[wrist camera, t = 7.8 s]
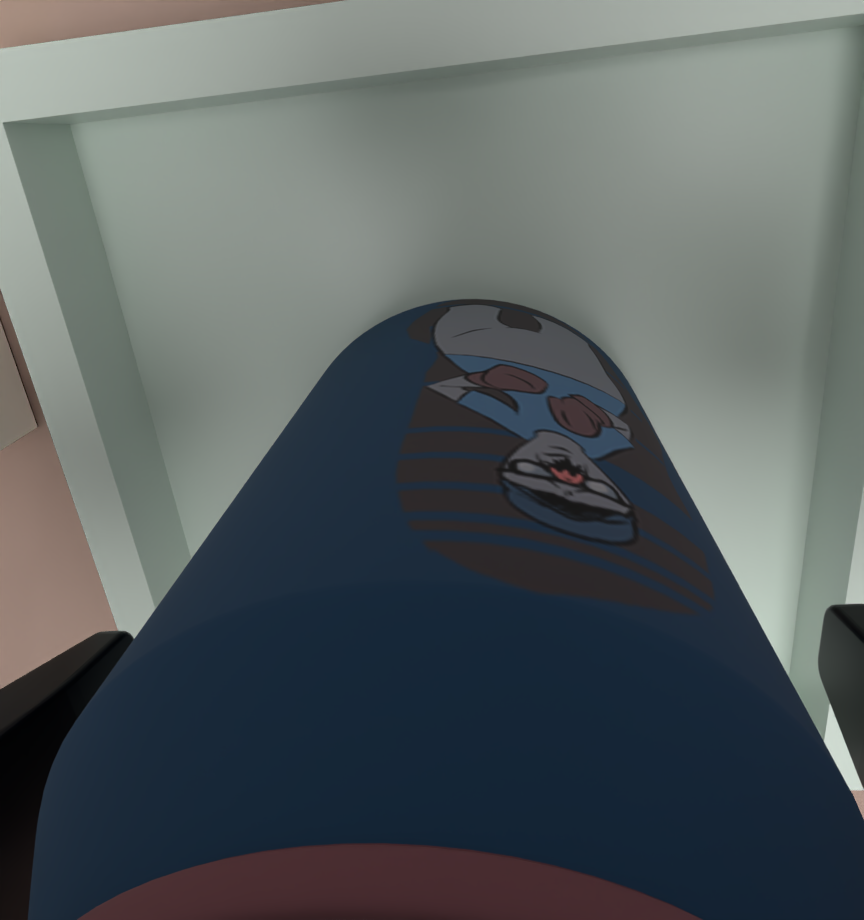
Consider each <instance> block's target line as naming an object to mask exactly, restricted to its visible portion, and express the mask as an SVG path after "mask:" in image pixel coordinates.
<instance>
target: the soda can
mask: <svg viewBox="0 0 864 920" xmlns="http://www.w3.org/2000/svg"><path fill="white" fill-rule="evenodd" d="M28 920H864V819H863V817H862V815H861V812H860V810H859V808H858V806H857V803H856V801H855V799H854V796H853V794H852V793H851V791H850V789H849V787H848V785H847V783H846V782H845V780H844V778H843V776H842V774H841V772H840V770H839V769H838V767H837V765H836V763H835V761H834V759H833V758H832V756H831V754H830V752H829V750H828V748H827V747H826V745H825V743H824V741H823V739H822V737H821V735H820V734H819V732H818V730H817V728H816V726H815V724H814V723H813V721H812V719H811V717H810V715H809V713H808V711H807V710H806V708H805V706H804V704H803V702H802V700H801V699H800V697H799V695H798V693H797V691H796V689H795V688H794V686H793V684H792V682H791V680H790V678H789V676H788V675H787V673H786V671H785V669H784V667H783V665H782V664H781V662H780V660H779V658H778V656H777V654H776V652H775V651H774V649H773V647H772V645H771V643H770V641H769V640H768V638H767V636H766V634H765V632H764V630H763V629H762V627H761V625H760V623H759V621H758V619H757V617H756V616H755V614H754V612H753V610H752V608H751V606H750V605H749V603H748V601H747V599H746V597H745V595H744V593H743V592H742V590H741V588H740V586H739V584H738V582H737V581H736V579H735V577H734V575H733V573H732V571H731V570H730V568H729V566H728V564H727V562H726V560H725V558H724V557H723V555H722V553H721V551H720V549H719V547H718V546H717V544H716V542H715V540H714V538H713V536H712V534H711V533H710V531H709V529H708V527H707V525H706V523H705V522H704V520H703V518H702V516H701V514H700V512H699V511H698V509H697V507H696V505H695V503H694V501H693V499H692V498H691V496H690V494H689V492H688V490H687V488H686V487H685V485H684V483H683V481H682V479H681V477H680V476H679V474H678V472H677V470H676V468H675V466H674V464H673V463H672V461H671V459H670V457H669V455H668V453H667V452H666V450H665V448H664V446H663V444H662V442H661V440H660V439H659V437H658V435H657V433H656V431H655V429H654V428H653V426H652V424H651V422H650V420H649V418H648V417H647V415H646V413H645V411H644V409H643V407H642V405H641V404H640V402H639V400H638V398H637V396H636V394H635V393H634V391H633V389H632V387H631V386H630V384H629V382H628V381H627V379H626V378H625V376H624V375H623V373H622V372H621V370H620V369H619V368H618V367H617V366H616V364H615V363H614V362H613V361H612V359H611V358H610V357H609V356H608V355H607V354H606V353H605V352H604V351H603V350H602V349H601V348H600V347H598V346H597V345H596V344H595V343H594V342H593V341H591V340H590V339H589V338H588V337H586V336H585V335H583V334H582V333H581V332H579V331H578V330H576V329H575V328H573V327H571V326H570V325H568V324H566V323H565V322H563V321H561V320H559V319H557V318H555V317H553V316H551V315H548V314H546V313H543V312H541V311H538V310H535V309H532V308H529V307H526V306H522V305H518V304H514V303H509V302H503V301H496V300H486V299H458V300H448V301H441V302H436V303H430V304H427V305H423V306H419V307H415V308H413V309H410V310H407V311H404V312H401V313H399V314H397V315H395V316H392V317H390V318H388V319H386V320H384V321H382V322H381V323H379V324H377V325H375V326H374V327H372V328H371V329H369V330H367V331H366V332H364V333H363V334H362V335H360V336H359V337H358V338H357V339H355V340H354V341H353V342H352V343H350V344H349V345H348V346H347V347H346V348H345V349H344V350H343V351H342V352H341V353H340V354H339V355H338V356H337V357H336V358H335V360H334V361H333V362H332V363H331V364H330V366H329V367H328V368H327V370H326V371H325V372H324V374H323V375H322V376H321V378H320V379H319V381H318V382H317V383H316V385H315V386H314V388H313V389H312V390H311V392H310V393H309V395H308V396H307V397H306V399H305V400H304V402H303V403H302V404H301V406H300V407H299V409H298V410H297V411H296V413H295V414H294V416H293V417H292V418H291V420H290V421H289V423H288V424H287V425H286V427H285V428H284V430H283V431H282V432H281V434H280V435H279V437H278V438H277V439H276V441H275V442H274V444H273V445H272V446H271V448H270V449H269V451H268V452H267V453H266V455H265V456H264V458H263V459H262V460H261V462H260V463H259V465H258V466H257V468H256V469H255V470H254V472H253V473H252V475H251V476H250V477H249V479H248V480H247V482H246V483H245V484H244V486H243V487H242V489H241V490H240V491H239V493H238V494H237V496H236V497H235V498H234V500H233V501H232V503H231V504H230V505H229V507H228V508H227V510H226V511H225V512H224V514H223V515H222V517H221V518H220V519H219V521H218V522H217V524H216V525H215V526H214V528H213V529H212V531H211V532H210V533H209V535H208V536H207V538H206V539H205V540H204V542H203V543H202V545H201V546H200V547H199V549H198V550H197V552H196V553H195V554H194V556H193V557H192V559H191V560H190V561H189V563H188V564H187V566H186V567H185V568H184V570H183V571H182V573H181V574H180V575H179V577H178V578H177V580H176V581H175V582H174V584H173V585H172V587H171V588H170V589H169V591H168V592H167V594H166V595H165V596H164V598H163V599H162V601H161V602H160V603H159V605H158V606H157V608H156V609H155V610H154V612H153V613H152V615H151V616H150V617H149V619H148V620H147V622H146V623H145V624H144V626H143V627H142V629H141V630H140V631H139V633H138V634H137V636H136V637H135V638H134V640H133V641H132V643H131V644H130V645H129V647H128V648H127V650H126V651H125V652H124V654H123V655H122V657H121V658H120V660H119V661H118V662H117V664H116V665H115V667H114V668H113V669H112V671H111V672H110V674H109V675H108V676H107V678H106V679H105V681H104V682H103V683H102V685H101V686H100V688H99V689H98V690H97V692H96V693H95V695H94V696H93V697H92V699H91V700H90V702H89V703H88V704H87V706H86V707H85V709H84V710H83V711H82V713H81V714H80V716H79V717H78V718H77V720H76V721H75V723H74V724H73V726H72V728H71V729H70V731H69V733H68V734H67V736H66V737H65V739H64V741H63V742H62V745H61V747H60V749H59V751H58V753H57V755H56V757H55V760H54V762H53V764H52V767H51V770H50V773H49V776H48V779H47V782H46V785H45V788H44V792H43V797H42V802H41V807H40V812H39V817H38V823H37V831H36V839H35V848H34V858H33V868H32V879H31V889H30V900H29V911H28Z"/></svg>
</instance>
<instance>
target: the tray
mask: <svg viewBox="0 0 864 920" xmlns="http://www.w3.org/2000/svg"><path fill="white" fill-rule="evenodd" d="M0 289H1V292H2V295H3V298H4V301H5V304H6V307H7V310H8V313H9V315H10V318H11V321H12V324H13V327H14V330H15V333H16V336H17V339H18V342H19V344H20V347H21V350H22V353H23V356H24V359H25V362H26V365H27V368H28V371H29V373H30V376H31V379H32V382H33V385H34V388H35V391H36V394H37V397H38V400H39V402H40V405H41V408H42V411H43V414H44V417H45V420H46V423H47V426H48V429H49V431H50V434H51V437H52V440H53V443H54V446H55V449H56V452H57V455H58V458H59V460H60V463H61V466H62V469H63V472H64V475H65V478H66V481H67V484H68V487H69V489H70V492H71V495H72V498H73V501H74V504H75V507H76V510H77V513H78V516H79V518H80V521H81V524H82V527H83V530H84V533H85V536H86V539H87V542H88V545H89V547H90V550H91V553H92V556H93V559H94V562H95V565H96V568H97V571H98V574H99V576H100V579H101V582H102V585H103V588H104V591H105V594H106V597H107V600H108V603H109V605H110V608H111V611H112V614H113V617H114V620H115V623H116V626H117V629H118V631H127V632H129V633H130V634H131V635H132V636H133V637H134V638H135V637H136V636H137V634H138V633H139V631H140V630H141V629H142V627H143V626H144V624H145V623H146V622H147V620H148V619H149V617H150V616H151V615H152V613H153V612H154V610H155V609H156V608H157V606H158V605H159V603H160V602H161V601H162V599H163V598H164V596H165V595H166V594H167V592H168V591H169V589H170V588H171V587H172V585H173V584H174V582H175V581H176V580H177V578H178V577H179V575H180V574H181V573H182V571H183V570H184V568H185V567H186V566H187V564H188V563H189V561H190V560H191V559H192V557H193V556H194V554H195V553H196V552H197V550H198V549H199V547H200V546H201V545H202V543H203V542H204V540H205V539H206V538H207V536H208V535H209V533H210V532H211V531H212V529H213V528H214V526H215V525H216V524H217V522H218V521H219V519H220V518H221V517H222V515H223V514H224V512H225V511H226V510H227V508H228V507H229V505H230V504H231V503H232V501H233V500H234V498H235V497H236V496H237V494H238V493H239V491H240V490H241V489H242V487H243V486H244V484H245V483H246V482H247V480H248V479H249V477H250V476H251V475H252V473H253V472H254V470H255V469H256V468H257V466H258V465H259V463H260V462H261V460H262V459H263V458H264V456H265V455H266V453H267V452H268V451H269V449H270V448H271V446H272V445H273V444H274V442H275V441H276V439H277V438H278V437H279V435H280V434H281V432H282V431H283V430H284V428H285V427H286V425H287V424H288V423H289V421H290V420H291V418H292V417H293V416H294V414H295V413H296V411H297V410H298V409H299V407H300V406H301V404H302V403H303V402H304V400H305V399H306V397H307V396H308V395H309V393H310V392H311V390H312V389H313V388H314V386H315V385H316V383H317V382H318V381H319V379H320V378H321V376H322V375H323V374H324V372H325V371H326V370H327V368H328V367H329V366H330V364H331V363H332V362H333V361H334V360H335V358H336V357H337V356H338V355H339V354H340V353H341V352H342V351H343V350H344V349H345V348H346V347H347V346H348V345H349V344H350V343H352V342H353V341H354V340H355V339H357V338H358V337H359V336H360V335H362V334H363V333H364V332H366V331H367V330H369V329H371V328H372V327H374V326H375V325H377V324H379V323H381V322H382V321H384V320H386V319H388V318H390V317H392V316H395V315H397V314H399V313H401V312H404V311H407V310H410V309H413V308H415V307H419V306H423V305H427V304H430V303H436V302H441V301H448V300H458V299H486V300H496V301H503V302H509V303H514V304H518V305H522V306H526V307H529V308H532V309H535V310H538V311H541V312H543V313H546V314H548V315H551V316H553V317H555V318H557V319H559V320H561V321H563V322H565V323H566V324H568V325H570V326H571V327H573V328H575V329H576V330H578V331H579V332H581V333H582V334H583V335H585V336H586V337H588V338H589V339H590V340H591V341H593V342H594V343H595V344H596V345H597V346H598V347H600V348H601V349H602V350H603V351H604V352H605V353H606V354H607V355H608V356H609V357H610V358H611V359H612V361H613V362H614V363H615V364H616V366H617V367H618V368H619V369H620V370H621V372H622V373H623V375H624V376H625V378H626V379H627V381H628V382H629V384H630V386H631V387H632V389H633V391H634V393H635V394H636V396H637V398H638V400H639V402H640V404H641V405H642V407H643V409H644V411H645V413H646V415H647V417H648V418H649V420H650V422H651V424H652V426H653V428H654V429H655V431H656V433H657V435H658V437H659V439H660V440H661V442H662V444H663V446H664V448H665V450H666V452H667V453H668V455H669V457H670V459H671V461H672V463H673V464H674V466H675V468H676V470H677V472H678V474H679V476H680V477H681V479H682V481H683V483H684V485H685V487H686V488H687V490H688V492H689V494H690V496H691V498H692V499H693V501H694V503H695V505H696V507H697V509H698V511H699V512H700V514H701V516H702V518H703V520H704V522H705V523H706V525H707V527H708V529H709V531H710V533H711V534H712V536H713V538H714V540H715V542H716V544H717V546H718V547H719V549H720V551H721V553H722V555H723V557H724V558H725V560H726V562H727V564H728V566H729V568H730V570H731V571H732V573H733V575H734V577H735V579H736V581H737V582H738V584H739V586H740V588H741V590H742V592H743V593H744V595H745V597H746V599H747V601H748V603H749V605H750V606H751V608H752V610H753V612H754V614H755V616H756V617H757V619H758V621H759V623H760V625H761V627H762V629H763V630H764V632H765V634H766V636H767V638H768V640H769V641H770V643H771V645H772V647H773V649H774V651H775V652H776V654H777V656H778V658H779V660H780V662H781V664H782V665H783V667H784V669H785V671H786V673H787V675H788V676H789V678H790V680H791V682H792V684H793V686H794V688H795V689H796V691H797V693H798V695H799V697H800V699H801V700H802V702H803V704H804V706H805V708H806V710H807V711H808V713H809V715H810V717H811V719H812V721H813V723H814V724H815V726H816V728H817V730H818V732H819V734H820V735H821V737H822V739H823V741H824V743H825V745H826V747H827V748H828V750H829V752H830V754H831V756H832V758H833V759H834V761H835V763H836V765H837V767H838V769H839V770H840V772H841V774H842V776H843V778H844V780H845V782H846V783H847V785H848V787H849V789H850V790H864V789H863V787H862V784H861V782H860V780H859V777H858V775H857V772H856V770H855V767H854V764H853V762H852V759H851V757H850V754H849V751H848V749H847V746H846V744H845V741H844V738H843V736H842V733H841V731H840V728H839V725H838V723H837V720H836V718H835V715H834V712H833V710H832V707H831V704H830V702H829V699H828V697H827V694H826V691H825V689H824V686H823V684H822V681H821V678H820V675H819V670H818V653H819V646H820V639H821V632H822V625H823V618H824V614H825V611H826V609H827V608H828V607H829V606H831V605H834V604H864V0H345V1H338V2H331V3H324V4H316V5H309V6H302V7H295V8H288V9H281V10H273V11H266V12H259V13H252V14H245V15H238V16H231V17H223V18H216V19H209V20H202V21H195V22H188V23H180V24H173V25H166V26H159V27H152V28H145V29H138V30H130V31H123V32H116V33H109V34H102V35H95V36H87V37H80V38H73V39H66V40H59V41H52V42H45V43H37V44H30V45H23V46H16V47H9V48H2V49H0Z"/></svg>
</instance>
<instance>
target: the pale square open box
mask: <svg viewBox="0 0 864 920" xmlns="http://www.w3.org/2000/svg"><path fill="white" fill-rule="evenodd" d="M35 428H37V424H36V421H35V418H34V415H33V413H32V410H31V407H30V404H29V401H28V398H27V396H26V393H25V390H24V387H23V384H22V381H21V378H20V376H19V373H18V370H17V367H16V364H15V361H14V359H13V356H12V353H11V350H10V347H9V344H8V341H7V339H6V336H5V333H4V330H3V327H2V324H1V321H0V451H1V450H2V449H4V448H5V447H7V446H9V445H10V444H12V443H13V442H15V441H16V440H18V439H20V438H21V437H23V436H24V435H26V434H27V433H29V432H31V431H32V430H34V429H35Z"/></svg>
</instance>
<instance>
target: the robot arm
mask: <svg viewBox="0 0 864 920" xmlns="http://www.w3.org/2000/svg"><path fill="white" fill-rule="evenodd" d="M133 640H134V637H133V636H132V635H131V634H130V633H129V632H127V631H105V632H99V633H96V634H94V635H92V636H91V637H89V638H87V639H86V640H84V641H82V642H80V643H79V644H77V645H75V646H74V647H72V648H70V649H68V650H67V651H65V652H63V653H62V654H60V655H58V656H56V657H55V658H53V659H51V660H50V661H48V662H46V663H44V664H43V665H41V666H39V667H38V668H36V669H34V670H32V671H31V672H29V673H27V674H26V675H24V676H22V677H20V678H19V679H17V680H15V681H14V682H12V683H10V684H8V685H7V686H5V687H3V688H2V689H0V920H28V911H29V900H30V889H31V879H32V868H33V858H34V848H35V839H36V831H37V823H38V817H39V812H40V807H41V802H42V797H43V792H44V788H45V785H46V782H47V779H48V776H49V773H50V770H51V767H52V764H53V762H54V760H55V757H56V755H57V753H58V751H59V749H60V747H61V745H62V742H63V741H64V739H65V737H66V736H67V734H68V733H69V731H70V729H71V728H72V726H73V724H74V723H75V721H76V720H77V718H78V717H79V716H80V714H81V713H82V711H83V710H84V709H85V707H86V706H87V704H88V703H89V702H90V700H91V699H92V697H93V696H94V695H95V693H96V692H97V690H98V689H99V688H100V686H101V685H102V683H103V682H104V681H105V679H106V678H107V676H108V675H109V674H110V672H111V671H112V669H113V668H114V667H115V665H116V664H117V662H118V661H119V660H120V658H121V657H122V655H123V654H124V652H125V651H126V650H127V648H128V647H129V645H130V644H131V643H132V641H133ZM818 670H819V675H820V678H821V681H822V684H823V686H824V689H825V691H826V694H827V697H828V699H829V702H830V704H831V707H832V710H833V712H834V715H835V718H836V720H837V723H838V725H839V728H840V731H841V733H842V736H843V738H844V741H845V744H846V746H847V749H848V751H849V754H850V757H851V759H852V762H853V764H854V767H855V770H856V772H857V775H858V777H859V780H860V782H861V784H862V787H863V789H864V604H834V605H831V606H829V607H828V608H827V609H826V611H825V614H824V618H823V625H822V632H821V639H820V646H819V653H818Z"/></svg>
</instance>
